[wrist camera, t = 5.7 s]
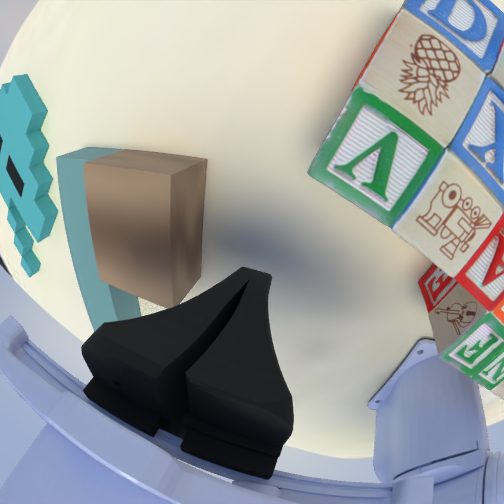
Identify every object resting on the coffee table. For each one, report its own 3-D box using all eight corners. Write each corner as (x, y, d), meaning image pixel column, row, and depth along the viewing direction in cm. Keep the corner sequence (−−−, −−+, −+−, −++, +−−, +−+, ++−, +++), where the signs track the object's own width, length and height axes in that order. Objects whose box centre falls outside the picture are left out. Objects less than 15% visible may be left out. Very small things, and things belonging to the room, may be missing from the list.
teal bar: (150, 361, 27) (137, 381, 24) (122, 347, 27) (108, 365, 25) (125, 149, 15) (92, 160, 13) (87, 147, 16) (56, 157, 14)
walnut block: (202, 274, 19) (174, 310, 15) (133, 252, 20) (100, 280, 16) (209, 158, 15) (170, 174, 11) (127, 148, 16) (83, 163, 12)
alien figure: (41, 268, 27) (85, 159, 17) (29, 277, 26) (64, 167, 15) (-15, 166, 23) (17, 47, 13) (-26, 171, 21) (1, 49, 11)
